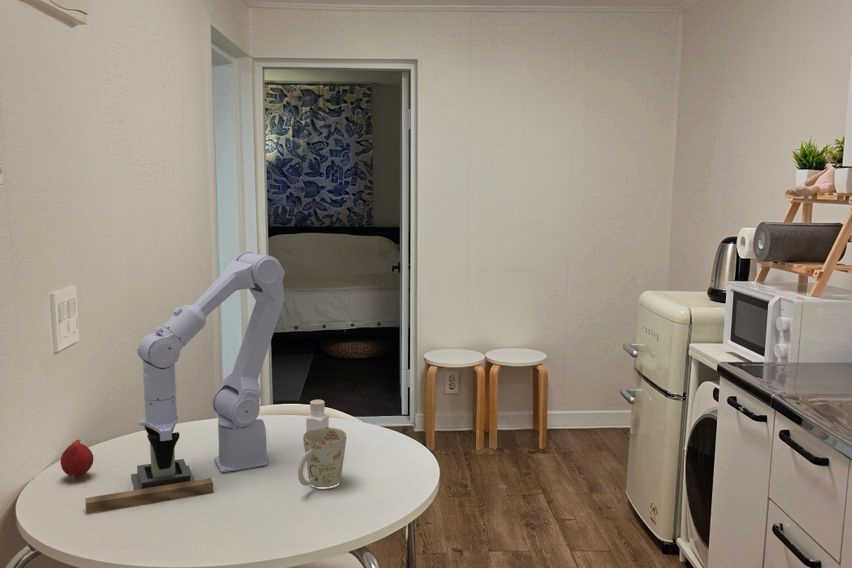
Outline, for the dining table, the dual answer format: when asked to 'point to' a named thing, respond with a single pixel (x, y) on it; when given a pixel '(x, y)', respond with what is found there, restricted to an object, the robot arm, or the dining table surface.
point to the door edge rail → (148, 495)
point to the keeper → (147, 481)
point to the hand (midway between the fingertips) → (163, 464)
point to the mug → (323, 457)
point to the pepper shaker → (317, 416)
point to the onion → (76, 459)
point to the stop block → (163, 472)
